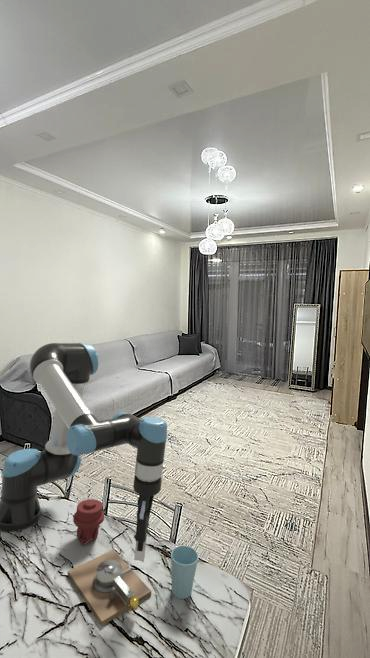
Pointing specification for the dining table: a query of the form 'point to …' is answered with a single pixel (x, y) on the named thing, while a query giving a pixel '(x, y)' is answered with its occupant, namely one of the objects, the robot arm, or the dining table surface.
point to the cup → (183, 570)
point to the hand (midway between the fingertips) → (139, 558)
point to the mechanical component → (88, 519)
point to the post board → (106, 600)
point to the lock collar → (115, 581)
